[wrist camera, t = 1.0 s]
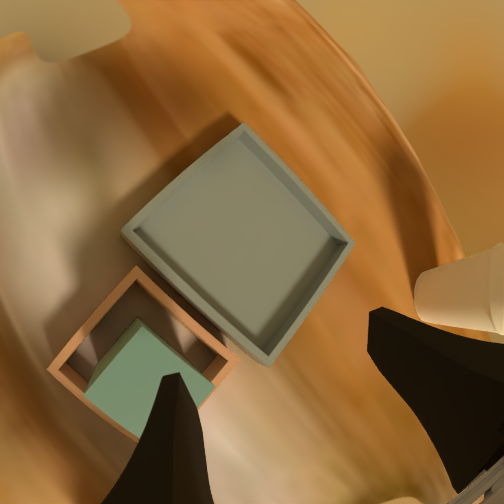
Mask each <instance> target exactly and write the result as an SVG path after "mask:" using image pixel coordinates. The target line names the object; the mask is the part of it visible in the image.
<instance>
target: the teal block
mask: <svg viewBox="0 0 504 504" xmlns="http://www.w3.org/2000/svg"><path fill="white" fill-rule="evenodd" d="M177 372H180V374H181V376H182V378H183V380H184V382H185V384H186V386H187V388H188V391H189V393H190V395H191V397H192V399H193V401H194V402H195V404H196V406H197V408H198V407H199V406H200V405H201V404H202V403H203V401H204V400H205V399H206V398H207V397H208V395H209V394H210V393H211V392H212V391H213V390H214V388H215V387H216V386H215V385H213V384H212V383H211V382H210V381H209V380H208V379H207V378H206V377H205V376H203V375H202V374H201V373H200V372H199V371H198V370H197V369H196V368H195V367H194V366H193V365H192V364H191V363H189V362H188V361H187V360H186V359H185V358H184V357H183V356H182V355H180V354H179V353H178V352H177V351H176V350H175V349H173V348H172V347H171V346H170V345H169V344H168V343H166V342H165V341H164V340H163V339H162V338H161V337H159V336H158V335H157V334H156V333H155V332H154V331H153V330H152V329H150V328H149V327H148V326H147V325H146V324H145V323H144V322H143V321H142V320H141V319H139V318H138V317H137V318H136V319H135V320H134V321H133V322H132V323H131V324H130V326H129V327H128V328H127V329H126V330H125V331H124V333H123V334H122V335H121V336H120V337H119V338H118V339H117V341H116V342H115V343H114V344H113V345H112V346H111V348H110V349H109V350H108V351H107V352H106V353H105V355H104V356H103V357H102V358H101V359H100V361H99V362H98V363H97V366H96V368H95V370H94V372H93V374H92V376H91V379H90V381H89V383H88V385H87V388H86V390H85V392H84V395H83V396H84V397H85V398H87V399H88V400H89V401H90V402H91V403H93V404H94V405H95V406H96V407H98V408H99V409H100V410H101V411H103V412H104V413H105V414H106V415H108V416H109V417H110V418H112V419H113V420H114V421H116V422H117V423H118V424H120V425H121V426H122V427H124V428H125V429H127V430H128V431H129V432H131V433H132V434H134V435H135V436H137V437H138V438H140V437H141V435H142V432H143V430H144V428H145V425H146V423H147V420H148V417H149V415H150V412H151V409H152V406H153V403H154V400H155V397H156V394H157V391H158V388H159V385H160V381H161V378H162V377H163V376H164V375H168V374H173V373H177Z"/></svg>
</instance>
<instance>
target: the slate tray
mask: <svg viewBox="0 0 504 504" xmlns="http://www.w3.org/2000/svg"><path fill="white" fill-rule="evenodd" d="M120 235H121V237H122V238H123V239H124V240H125V241H126V242H127V243H128V244H129V245H130V246H131V248H132V249H133V250H134V251H135V252H136V253H137V254H138V255H139V256H140V257H141V258H142V259H143V260H144V261H145V262H146V263H147V264H148V265H149V266H150V267H151V268H152V269H154V270H155V271H156V272H157V273H158V274H159V275H160V276H161V277H162V278H163V279H164V280H165V281H166V282H167V283H168V284H169V285H170V286H171V287H172V288H173V289H174V290H175V291H176V292H177V293H179V294H180V295H181V296H182V297H183V298H184V299H185V300H186V301H187V302H188V303H189V304H190V305H192V306H193V307H194V308H195V309H196V310H197V311H198V312H199V313H200V314H201V315H203V316H204V317H205V318H206V319H207V320H208V321H209V322H210V323H211V324H213V325H214V326H215V327H216V328H217V329H218V330H219V331H221V332H222V333H223V334H224V335H225V336H226V337H228V338H229V339H230V340H231V341H232V342H233V343H235V344H236V345H237V346H238V347H239V348H240V349H242V350H243V351H244V352H245V353H246V354H248V355H249V356H250V357H251V358H252V359H254V360H255V361H256V362H257V363H259V364H261V365H264V366H266V367H270V366H271V365H272V363H273V362H274V361H275V359H276V358H277V357H278V355H279V354H280V353H281V351H282V350H283V349H284V347H285V346H286V345H287V343H288V342H289V341H290V339H291V338H292V336H293V335H294V334H295V332H296V331H297V330H298V328H299V327H300V325H301V324H302V323H303V321H304V320H305V318H306V317H307V315H308V314H309V313H310V311H311V310H312V308H313V307H314V305H315V304H316V302H317V301H318V300H319V298H320V297H321V295H322V294H323V292H324V291H325V289H326V288H327V286H328V285H329V283H330V282H331V280H332V279H333V277H334V276H335V274H336V273H337V271H338V270H339V268H340V267H341V265H342V263H343V262H344V260H345V259H346V257H347V256H348V254H349V252H350V251H351V249H352V248H353V246H354V245H355V242H354V240H353V239H352V238H351V237H350V236H349V234H348V233H347V232H346V231H345V230H344V228H343V227H342V226H341V225H340V224H339V223H338V221H337V220H336V219H335V218H334V217H333V216H332V214H331V213H330V212H329V211H328V210H327V209H326V208H325V207H324V205H323V204H322V203H321V202H320V201H319V200H318V199H317V198H316V196H315V195H314V194H313V193H312V192H311V191H310V190H309V189H308V188H307V186H306V185H305V184H304V183H303V182H302V181H301V180H300V179H299V178H298V177H297V176H296V175H295V174H294V172H293V171H292V170H291V169H290V168H289V167H288V166H287V165H286V164H285V163H284V162H283V161H282V160H281V159H280V158H279V157H278V156H277V155H276V154H275V153H274V152H273V150H272V149H271V148H270V147H269V146H268V145H267V144H266V143H265V142H264V141H263V140H262V139H261V138H260V137H259V136H258V135H257V134H256V133H255V132H254V131H253V130H252V129H251V128H250V127H249V126H247V125H246V124H245V123H242V124H241V125H240V126H238V127H237V128H236V129H234V130H233V131H232V132H231V133H229V134H228V135H227V136H225V137H224V138H223V139H222V140H220V141H219V142H218V143H217V144H215V145H214V146H213V147H212V148H210V149H209V150H208V151H207V152H206V153H204V154H203V155H202V156H201V157H200V158H198V159H197V160H196V161H195V162H194V163H192V164H191V165H190V166H189V167H188V168H187V169H185V170H184V171H183V172H182V173H181V174H180V175H178V176H177V177H176V178H175V179H174V180H173V181H172V182H171V183H169V184H168V185H167V186H166V187H165V188H164V189H163V190H162V191H161V192H159V193H158V194H157V195H156V196H155V197H154V198H153V199H152V200H151V201H150V202H149V203H148V204H146V205H145V206H144V207H143V208H142V209H141V210H140V211H139V212H138V213H137V214H136V215H135V216H134V217H133V218H132V219H131V220H130V221H129V222H128V223H127V224H126V225H125V226H124V227H123V228H122V229H121V230H120Z"/></svg>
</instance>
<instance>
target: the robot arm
mask: <svg viewBox="0 0 504 504" xmlns="http://www.w3.org/2000/svg"><path fill="white" fill-rule="evenodd" d="M367 352H368V354H369V355H370V357H371V358H372V360H373V362H374V363H375V365H376V366H377V368H378V369H379V371H380V372H381V373H382V375H383V376H384V377H385V378H386V379H387V381H388V382H389V383H390V384H391V385H392V387H393V388H394V389H395V390H396V391H397V392H398V394H399V395H400V396H401V397H402V398H403V399H404V401H405V402H406V403H407V404H408V405H409V407H410V408H411V409H412V411H413V412H414V413H415V415H416V416H417V418H418V419H419V421H420V422H421V424H422V425H423V427H424V429H425V430H426V432H427V434H428V435H429V437H430V439H431V441H432V442H433V444H434V446H435V448H436V450H437V452H438V454H439V456H440V458H441V460H442V462H443V464H444V466H445V469H446V471H447V473H448V476H449V478H450V481H451V484H452V486H453V488H454V490H455V491H456V492H457V494H459V493H460V494H459V495H458V496H456V497H455V498H454V499H452V500H451V501H450V502H448V503H447V504H472V503H473V502H474V501H475V500H476V499H478V498H479V497H480V496H481V495H482V494H483V493H485V494H484V500H483V501H482V502H481V503H480V504H504V344H500V343H493V342H486V341H481V340H476V339H472V338H467V337H463V336H460V335H456V334H453V333H450V332H447V331H444V330H441V329H438V328H435V327H432V326H430V325H427V324H425V323H422V322H420V321H417V320H415V319H412V318H410V317H407V316H405V315H402V314H400V313H398V312H395V311H393V310H390V309H387V308H384V307H380V308H378V309H375V310H373V311H370V312H369V327H368V344H367ZM486 471H487V472H486ZM485 472H486V473H485ZM484 473H485V474H484ZM481 475H482V476H481ZM480 476H481V477H480ZM479 477H480V478H479ZM478 478H479V479H478ZM477 479H478V480H477ZM474 481H475V482H474ZM473 482H474V483H473ZM472 483H473V484H472ZM471 484H472V485H471ZM469 485H470V486H469ZM468 486H469V487H468ZM467 487H468V488H467ZM466 488H467V489H466ZM464 489H465V490H464ZM463 490H464V491H463ZM462 491H463V492H462ZM461 492H462V493H461ZM101 504H214V502H213V498H212V495H211V490H210V485H209V479H208V472H207V464H206V456H205V448H204V440H203V431H202V427H201V423H200V418H199V414H198V410H197V406H196V404H195V402H194V401H193V399H192V397H191V395H190V393H189V391H188V388H187V386H186V384H185V382H184V380H183V378H182V376H181V374H180V372H177V373H173V374H168V375H164V376H163V377H162V378H161V381H160V385H159V388H158V391H157V394H156V397H155V400H154V403H153V406H152V409H151V412H150V415H149V417H148V420H147V423H146V425H145V428H144V430H143V432H142V435H141V437H140V439H139V442H138V444H137V446H136V448H135V450H134V452H133V454H132V456H131V458H130V460H129V462H128V464H127V466H126V467H125V469H124V471H123V473H122V474H121V476H120V477H119V479H118V481H117V482H116V484H115V485H114V487H113V488H112V490H111V491H110V493H109V494H108V495H107V497H106V498H105V499H104V500H103V502H102V503H101Z"/></svg>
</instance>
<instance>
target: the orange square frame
mask: <svg viewBox="0 0 504 504" xmlns="http://www.w3.org/2000/svg"><path fill="white" fill-rule="evenodd" d="M135 281H136V282H137V283H138V284H139V285H140V286H141V287H142V288H143V289H144V290H145V291H146V292H147V293H148V294H149V295H150V296H152V297H153V298H154V299H155V300H156V301H157V302H158V303H159V304H160V305H161V306H162V307H163V308H164V309H165V310H167V311H168V312H169V313H170V314H171V315H172V316H173V317H174V318H175V319H176V320H178V321H179V322H180V323H181V324H182V325H183V326H184V327H185V328H187V329H188V330H189V331H190V332H191V333H192V334H193V335H195V336H196V337H197V338H198V339H199V340H200V341H202V342H203V343H204V344H205V345H206V346H207V347H209V348H210V349H211V350H212V351H213V352H215V353H216V354H217V356H216V357H215V359H214V360H213V361H212V362H211V364H210V365H209V366H208V367H207V368H206V369H205V371H204V372H203V373H202V375H203V376H205V377H206V378H207V379H208V380H209V381H210V382H211V383H212V384H213V385H215V386H216V387H215V388H214V390H213V391H212V392H211V393H210V394H209V395H208V397H207V398H206V399H205V400H204V401H203V403H202V404H201V405H200V406H199V407H198V408H197V410H199V409H200V407H201V406H202V405H203V404H204V403H205V402H206V400H207V399H208V398H209V397H210V396H211V394H212V393H213V392H214V391H215V390H216V389H217V387H218V386H219V385H220V384H221V382H222V381H223V380H224V379H225V378H226V376H227V375H228V374H229V373H230V372H231V370H232V369H233V368H234V367H235V365H236V364H237V363H238V362H239V360H240V359H239V358H238V357H237V356H236V355H234V354H233V353H232V352H231V351H230V350H228V349H227V348H226V347H225V346H224V345H222V344H221V343H220V342H219V341H218V340H217V339H215V338H214V337H213V336H212V335H211V334H210V333H209V332H207V331H206V330H205V329H204V328H203V327H202V326H201V325H199V324H198V323H197V322H196V321H195V320H194V319H193V318H192V317H190V316H189V315H188V314H187V313H186V312H185V311H184V310H183V309H182V308H180V307H179V306H178V305H177V304H176V303H175V302H174V301H173V300H172V299H171V298H170V297H169V296H168V295H166V294H165V293H164V292H163V291H162V290H161V289H160V288H159V287H158V286H157V285H156V284H155V283H154V282H153V281H152V280H151V279H150V278H149V277H148V276H147V275H146V274H145V273H144V272H143V271H142V270H141V269H140V268H139V267H138V266H137V265H136V266H135V267H134V268H133V269H132V270H131V271H130V272H129V273H128V274H127V276H126V277H125V278H124V279H123V280H122V281H121V282H120V283H119V284H118V285H117V286H116V288H115V289H114V290H113V291H112V292H111V293H110V294H109V295H108V296H107V298H106V299H105V300H104V301H103V302H102V303H101V304H100V305H99V307H98V308H97V309H96V310H95V311H94V312H93V313H92V315H91V316H90V317H89V318H88V319H87V320H86V322H85V323H84V324H83V325H82V326H81V328H80V329H79V330H78V331H77V332H76V333H75V335H74V336H73V337H72V338H71V340H70V341H69V342H68V343H67V344H66V346H65V347H64V348H63V349H62V351H61V352H60V353H59V354H58V355H57V357H56V358H55V359H54V361H53V362H52V363H51V364H50V366H49V367H48V368H47V370H48V371H49V372H50V373H51V374H52V375H53V376H54V377H55V378H56V379H57V380H58V381H59V382H60V383H61V384H62V385H64V386H65V387H66V388H67V389H68V390H69V391H70V392H71V393H72V394H74V395H75V396H76V397H77V398H78V399H79V400H81V401H82V402H83V403H84V404H85V405H87V406H88V407H89V408H90V409H91V410H93V411H94V412H95V413H96V414H98V415H99V416H100V417H102V418H103V419H104V420H105V421H107V422H108V423H109V424H111V425H112V426H113V427H115V428H116V429H118V430H119V431H120V432H122V433H123V434H125V435H126V436H127V437H129V438H130V439H132V440H133V441H135V442H136V443H138V442H139V439H140V438H138V437H137V436H135V435H134V434H132V433H131V432H129V431H128V430H127V429H125V428H124V427H122V426H121V425H120V424H118V423H117V422H116V421H114V420H113V419H112V418H110V417H109V416H108V415H106V414H105V413H104V412H103V411H101V410H100V409H99V408H98V407H96V406H95V405H94V404H93V403H91V402H90V401H89V400H88V399H87V398H85V397H84V396H83V395H84V392H85V390H86V388H87V385H88V382H87V381H85V380H84V379H83V378H82V377H81V376H80V375H79V374H78V373H76V372H75V371H74V370H73V369H72V368H71V367H70V366H69V365H68V364H67V363H66V361H67V360H68V359H69V357H70V356H71V355H72V354H73V353H74V351H75V350H76V349H77V348H78V347H79V345H80V344H81V343H82V342H83V341H84V339H85V338H86V337H87V336H88V335H89V333H90V332H91V331H92V330H93V329H94V328H95V326H96V325H97V324H98V323H99V322H100V321H101V319H102V318H103V317H104V316H105V315H106V314H107V313H108V311H109V310H110V309H111V308H112V307H113V306H114V305H115V304H116V302H117V301H118V300H119V299H120V298H121V297H122V296H123V295H124V293H125V292H126V291H127V290H128V289H129V288H130V287H131V286H132V285H133V284H134V282H135Z"/></svg>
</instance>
